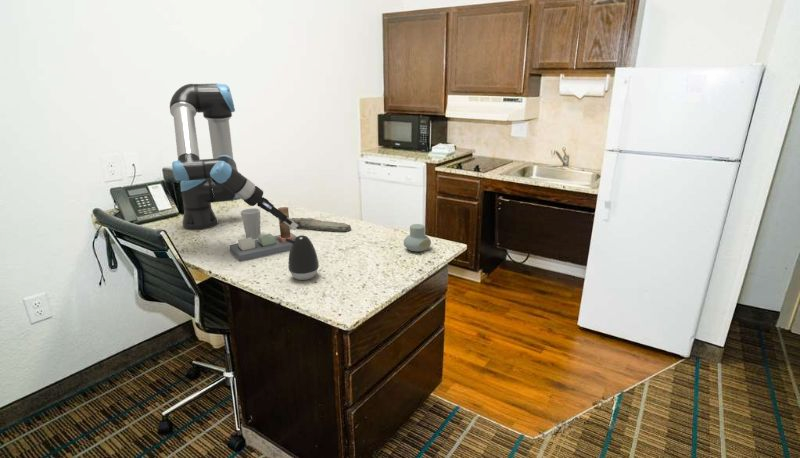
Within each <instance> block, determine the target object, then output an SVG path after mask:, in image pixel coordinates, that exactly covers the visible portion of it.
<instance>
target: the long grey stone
mask: <svg viewBox="0 0 800 458" xmlns="http://www.w3.org/2000/svg"><path fill="white" fill-rule="evenodd" d="M290 219H291V220H292V221H294V222H295V223H296V224H298V226H297V228H296V229H297V230H310V231H311V230H318V231H328V232H334V233H346V232H350V231H351V230H352V226H351V224H347V223H346V222H337V221H336V222H335V221H329V220H328V221H326V220H320V219H315V218H312V217H300V218H299V217H292V218H290ZM296 229H295V230H296Z"/></svg>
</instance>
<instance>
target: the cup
mask: <svg viewBox="0 0 800 458" xmlns="http://www.w3.org/2000/svg"><path fill="white" fill-rule="evenodd" d="M240 215H241V220H242V222H243V223H242V224H243V229H244V234H245V238H250V237H251V238H252V239H253V240H257V239H258V236H260V235H262V234H261V233H262V232H261V208H252V207H251V208H246V209H242V210H240Z"/></svg>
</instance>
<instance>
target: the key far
mask: <svg viewBox="0 0 800 458" xmlns="http://www.w3.org/2000/svg"><path fill="white" fill-rule="evenodd" d="M278 235H279V236H278V240H279V241H280V242H281V243H283V242H287V241H286V238H281V236H280V234H278ZM290 235H291V234H290ZM288 239H292V240H294V237H293V236H292V235H291V236H290V237H288Z"/></svg>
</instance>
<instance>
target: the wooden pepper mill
mask: <svg viewBox="0 0 800 458" xmlns="http://www.w3.org/2000/svg"><path fill="white" fill-rule="evenodd" d="M277 209H278V210H279V211H280V212H282V213H283V214H284V215H286V216H287V217H288V218H290V213H289V207H287V206H283V207H281V206H280V207H278V208H277ZM278 223H279V235H280V236H281V238H288V237H290V236H291V235H290V233H291V228H290V227H289V226H288V225H286V224H285V223H284V222H283V223H281V220H280V219H278Z"/></svg>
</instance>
